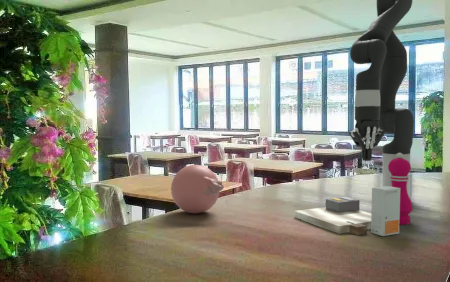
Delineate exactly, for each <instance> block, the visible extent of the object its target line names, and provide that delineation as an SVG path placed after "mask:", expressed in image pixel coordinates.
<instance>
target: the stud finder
mask: <svg viewBox="0 0 450 282" xmlns="http://www.w3.org/2000/svg"><path fill="white" fill-rule="evenodd" d="M360 202H361V201H360V199H356V198H352V197H349V196H339V197H332V198H325V207H326V209H328V210H332V211H335V212H338V213H339V212H347V211H355V210H360V204H361V203H360Z"/></svg>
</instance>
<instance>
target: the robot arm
mask: <svg viewBox="0 0 450 282" xmlns="http://www.w3.org/2000/svg"><path fill="white" fill-rule="evenodd" d="M412 5H413V0H376V13H377V14H376V15H377V17H376V18H375V19H373V21H372V22H371V23H370V25H369V26H368V29H367V30H366V32H364V33H363V34H362V35H360V37H358V38H357V39H356V40H355V41H354V42H353V44H352V46H351V47H350V52H349V56H350V59H351V61H352V62H353V63H354V64H357V65H366V64H370V66H369V67H368V68H367V69H365V70H362V71H359V72H358V73H356V76H355V96H354V120H355V125H354V128H353V129H352V130H350V131H349V133H348V135H349V137H350V138H351V139H352V141H353V143H354V144H355V146H356V147H358V148H360V149H361V160H362V161H364V162H370V161H372V158H373V156H372V155H373V151H372V150H373V148H375V147H378V145H379V144H380V142H381V141H382V138H383V137H384V135H393V139H392V141H390V142H388V143H386V144H384V145H383V146H382V169H381V171H382V174H381V175H382V177H381V179H382V181H381V187H383V186H391V187H392V182H391V180H390V175H391V173H390V171H389V169H388V165H389V162H390V161H391V160H393V159H396V158H397V157H396V155H397V153H402V154H403V159H406V160H407V161H408V162H409V163H410V164H411V149H412V146H413V142H414V131H415V130H414V126H415V125H414V124H415V120H414V115H413V112H412V111H411V109H408V108H396V97H397V93H398V90H399V89H400V86H401V85H402V84H403V81H404V79H405V77H406V75H407V72H408V52H407V51H408V50H407V48H406V47H405V46H404V44H403V42H402V41H401V40H400V39H399V37H398V36H397V35H396V33H395V31H394V29H395V28H396V26H397V25H398V24H399V23H400V21H402V19H403V18H404V17H405V16H406V15H407V14H408V13H409V11H410V10H411V8H412V7H413V6H412ZM408 176H409V177H408V179H409V180H408V181H407V193H408V196H409V198H410V200H411V201H412V188H413V186H412V185H413V183H412V181H413V180H412V178H413V175H412V174H411V171H410V172H409V173H408Z"/></svg>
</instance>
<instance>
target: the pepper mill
mask: <svg viewBox="0 0 450 282" xmlns="http://www.w3.org/2000/svg"><path fill="white" fill-rule="evenodd" d="M396 157H397V158H396V159H393V160H391V161H390V162H389V165H388V169H389V171H390V173H391V175H390V180H391V182H392V187H396V188H400V219H399V224H400V225H399V226H401V225H403V226H404V225H405V224H406V225H410V224H411V216H410V214H411V213H412V212H413V202H412V199H411V200H410V198H409V196H408V193H407V181H408V180H409V179H408V177H409V176H408V173H409V172H410V173H411V170H412V165H411V162H410V163H409V162H408V161H407V160H406V159H403V154H402V153H397V155H396Z"/></svg>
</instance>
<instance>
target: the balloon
mask: <svg viewBox="0 0 450 282" xmlns="http://www.w3.org/2000/svg"><path fill="white" fill-rule="evenodd" d="M222 190H224V185H223V182H222V180H219V179H218V177H217V175H216V174H215V172H213V171H212V169H210V168H209V167H207V166H204V165H200V164H190V165H187V166H185V167H182V168H181V169H180V170H178V171H177V173H175V175H174V177H173V179H172V182H171V188H170V194H171V198H172V200H173V202H174V204H175V205H176V206H177V207H178V208H179V209H180V210H182V211H184V212H186V213H189V214H201V213H204V212H206V211H208V210H210V209H211V208H212V207H213V206H214V205H215V204H216V202H217V201H218V199H219V195H220V192H221V191H222Z"/></svg>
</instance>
